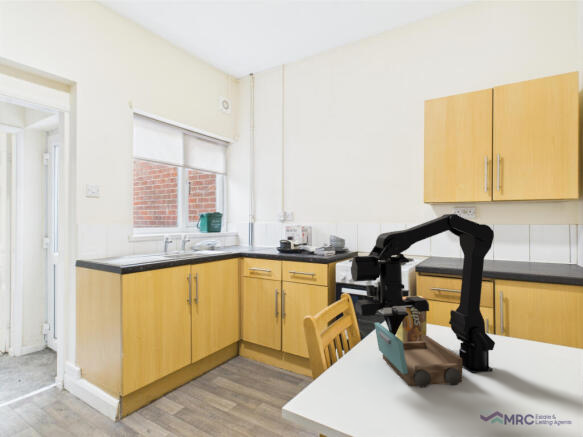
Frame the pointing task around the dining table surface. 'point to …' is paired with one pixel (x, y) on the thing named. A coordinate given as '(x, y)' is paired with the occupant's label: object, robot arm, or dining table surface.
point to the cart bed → (429, 364)
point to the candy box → (413, 325)
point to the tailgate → (391, 347)
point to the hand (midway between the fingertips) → (392, 337)
